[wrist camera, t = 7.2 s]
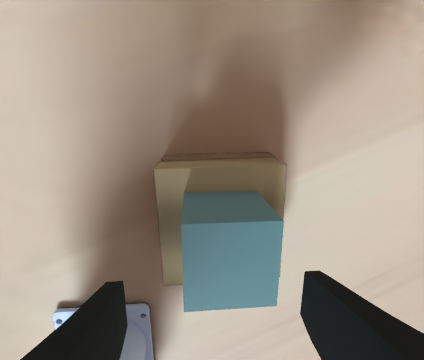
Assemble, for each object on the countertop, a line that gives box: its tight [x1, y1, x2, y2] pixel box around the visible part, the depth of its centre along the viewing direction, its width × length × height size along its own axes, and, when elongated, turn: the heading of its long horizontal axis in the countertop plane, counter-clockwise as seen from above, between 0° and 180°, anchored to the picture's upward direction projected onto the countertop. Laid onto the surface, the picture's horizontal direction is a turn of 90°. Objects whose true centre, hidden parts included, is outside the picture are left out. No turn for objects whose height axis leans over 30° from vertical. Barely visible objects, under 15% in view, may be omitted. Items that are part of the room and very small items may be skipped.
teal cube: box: [181, 191, 284, 312], centre depth 13 cm, size 4×4×4 cm
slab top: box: [154, 158, 287, 286], centre depth 17 cm, size 8×8×2 cm
